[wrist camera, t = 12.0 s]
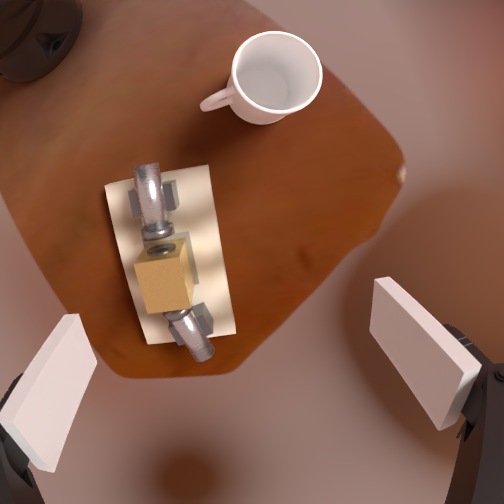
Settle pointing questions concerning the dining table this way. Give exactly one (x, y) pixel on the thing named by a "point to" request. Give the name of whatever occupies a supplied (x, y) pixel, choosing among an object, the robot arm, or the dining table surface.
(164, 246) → the wooden block with hole
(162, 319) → the bench
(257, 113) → the mug
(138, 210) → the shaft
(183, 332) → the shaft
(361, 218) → the dining table surface
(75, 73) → the dining table surface
